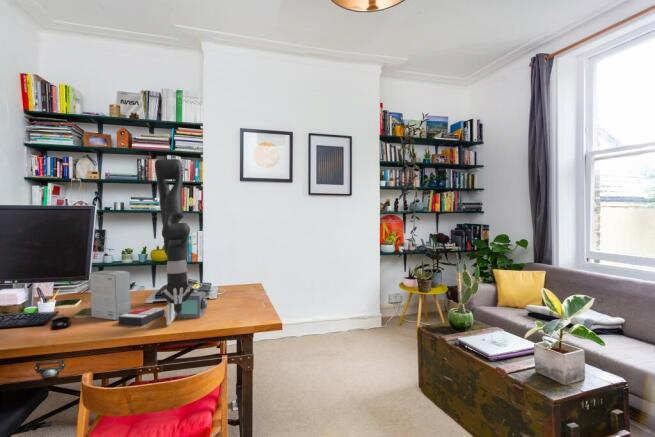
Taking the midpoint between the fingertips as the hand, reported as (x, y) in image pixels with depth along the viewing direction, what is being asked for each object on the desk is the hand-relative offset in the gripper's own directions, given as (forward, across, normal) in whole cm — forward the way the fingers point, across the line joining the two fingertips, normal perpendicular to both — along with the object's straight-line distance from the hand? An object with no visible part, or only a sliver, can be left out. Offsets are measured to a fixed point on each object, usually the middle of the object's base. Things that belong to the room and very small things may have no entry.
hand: (178, 312), depth 140 cm
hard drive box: (+5, -24, +27) cm, 37 cm away
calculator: (+6, -12, +14) cm, 20 cm away
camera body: (+5, +7, +8) cm, 12 cm away
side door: (+4, -3, +3) cm, 6 cm away
